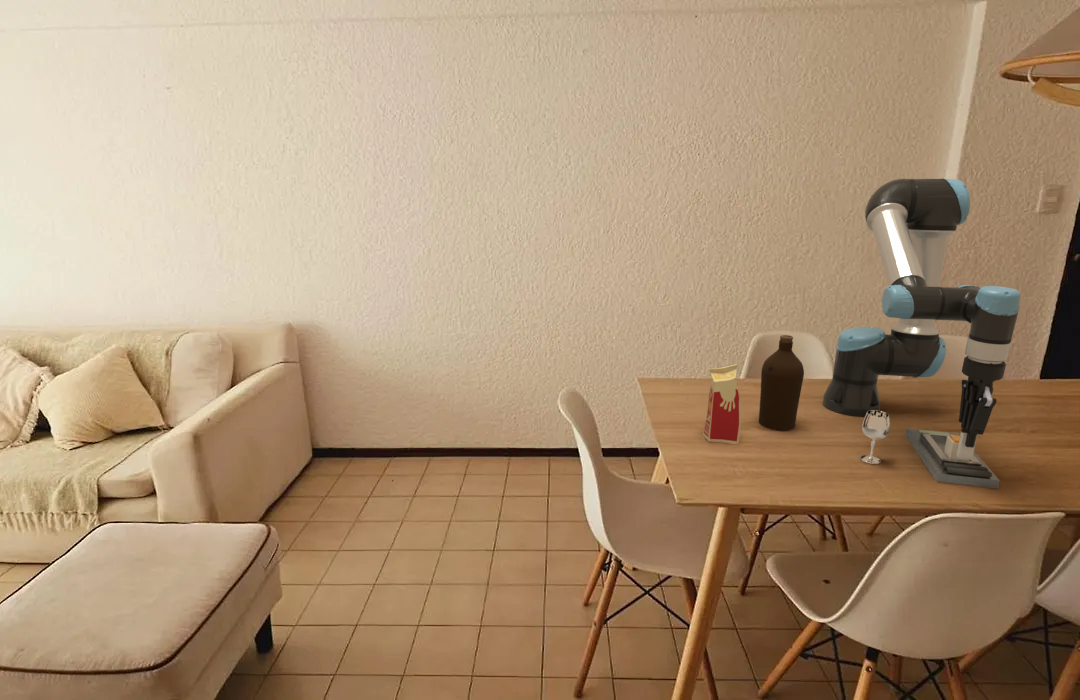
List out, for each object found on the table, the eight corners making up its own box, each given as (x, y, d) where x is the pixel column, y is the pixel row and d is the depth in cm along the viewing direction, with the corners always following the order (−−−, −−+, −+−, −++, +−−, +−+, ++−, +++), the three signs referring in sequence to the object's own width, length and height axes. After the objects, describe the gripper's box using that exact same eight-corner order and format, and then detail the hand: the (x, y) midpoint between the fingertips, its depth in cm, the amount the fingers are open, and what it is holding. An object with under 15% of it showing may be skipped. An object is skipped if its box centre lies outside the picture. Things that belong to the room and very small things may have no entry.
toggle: (949, 462, 146) (953, 440, 144) (943, 455, 150) (947, 433, 148) (968, 465, 145) (973, 442, 143) (962, 457, 149) (967, 435, 147)
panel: (936, 481, 142) (939, 468, 141) (905, 435, 166) (907, 423, 165) (997, 488, 139) (1000, 475, 138) (956, 440, 163) (958, 428, 162)
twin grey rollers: (948, 474, 141) (949, 468, 141) (942, 467, 144) (943, 461, 144) (992, 479, 139) (993, 473, 138) (986, 471, 142) (987, 466, 142)
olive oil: (794, 435, 166) (805, 344, 159) (752, 427, 171) (761, 338, 164) (799, 421, 175) (810, 334, 168) (760, 413, 180) (769, 329, 173)
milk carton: (736, 430, 169) (743, 359, 163) (740, 444, 160) (747, 370, 155) (701, 427, 171) (707, 357, 165) (703, 441, 162) (709, 368, 156)
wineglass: (855, 461, 151) (863, 415, 148) (858, 452, 156) (865, 407, 153) (882, 467, 148) (891, 420, 145) (884, 458, 153) (892, 412, 150)
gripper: (1018, 369, 129) (994, 472, 136) (993, 351, 141) (972, 447, 148) (977, 366, 131) (955, 468, 138) (955, 348, 143) (936, 443, 150)
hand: (964, 457), depth 143 cm, fingers closed
